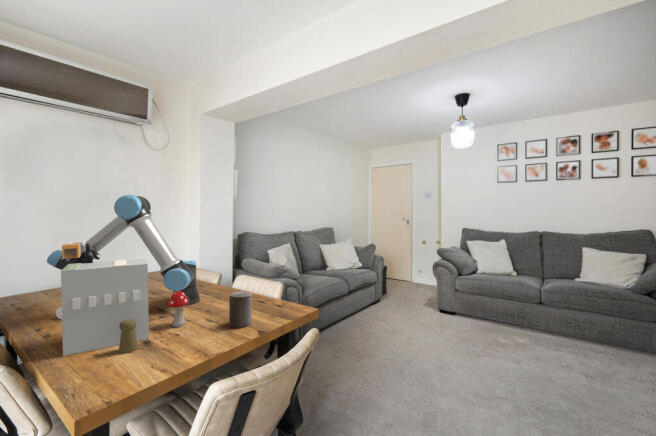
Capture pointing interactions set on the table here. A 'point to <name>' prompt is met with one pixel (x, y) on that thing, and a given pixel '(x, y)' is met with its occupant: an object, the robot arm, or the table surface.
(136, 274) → the breaker panel
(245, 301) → the pillar candle
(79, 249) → the handle
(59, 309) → the smoothie
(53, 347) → the table surface
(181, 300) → the decorative mushroom
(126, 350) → the cork
